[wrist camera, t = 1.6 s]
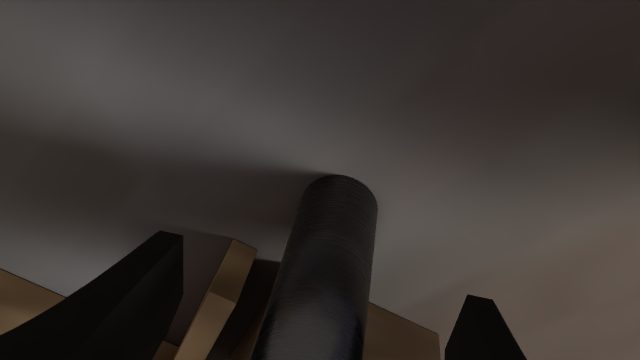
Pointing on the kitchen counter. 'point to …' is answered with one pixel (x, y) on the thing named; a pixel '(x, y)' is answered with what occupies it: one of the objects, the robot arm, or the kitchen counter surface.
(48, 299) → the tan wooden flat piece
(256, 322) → the walnut gauge block
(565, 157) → the kitchen counter surface
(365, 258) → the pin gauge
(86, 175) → the kitchen counter surface
